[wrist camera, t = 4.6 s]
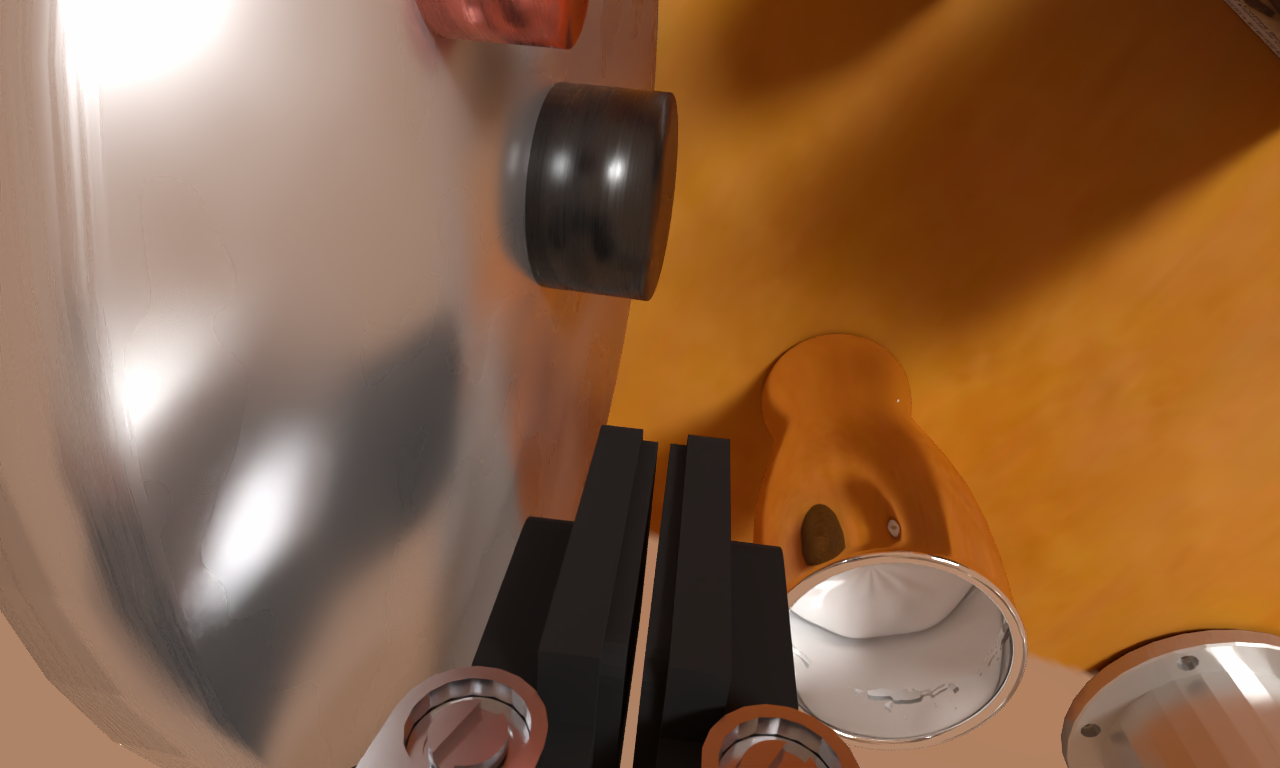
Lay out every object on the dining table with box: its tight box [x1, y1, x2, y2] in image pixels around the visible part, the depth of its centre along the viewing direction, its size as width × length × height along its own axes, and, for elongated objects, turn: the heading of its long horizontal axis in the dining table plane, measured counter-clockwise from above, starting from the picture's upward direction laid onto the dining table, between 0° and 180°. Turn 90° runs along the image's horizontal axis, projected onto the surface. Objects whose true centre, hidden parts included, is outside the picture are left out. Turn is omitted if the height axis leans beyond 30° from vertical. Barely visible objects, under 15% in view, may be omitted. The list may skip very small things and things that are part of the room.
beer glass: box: [753, 334, 1028, 750], centre depth 27 cm, size 7×7×15 cm
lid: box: [0, 0, 678, 768], centre depth 13 cm, size 18×17×4 cm
